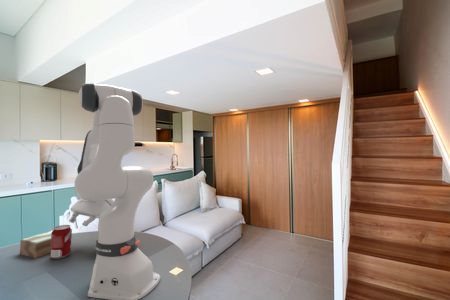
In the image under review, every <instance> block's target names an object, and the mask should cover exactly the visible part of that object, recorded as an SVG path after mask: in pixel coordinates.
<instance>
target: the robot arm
mask: <svg viewBox="0 0 450 300" xmlns="http://www.w3.org/2000/svg"><path fill="white" fill-rule="evenodd" d="M77 95H78V101H79V104H80V105H81V108H82V109H84V110H85V111H88V112H91V113H94V115H93V126H92V129H90V130H89V131H87V133H86V135H85V138H84V144H83V147H82V152H81V157H80V161H79V164H78V167H77V175H76V177H75V180H74V190H75V193H76V194H77V196H78V197H79V198H80V199H79V200H77V201H76V202H75V203H74V204H73V205H72V206H71V208H70V211H71V212H72V215H71V217H70V218H69V219H68V222H69V223H72V224H74V223H75V222H76V221H77V217H79V216H85V217H89V218H87V219H86V220H84V221H83V222H82V224H81V225H82V226H83V227H88V225H90V223H93V222H94V221H95V220H96V219H98V222H97V223H98V225H97V240H96V242H95V254H96V256H95V261H94V263H93V268H92V274H91V280H90V283H89V289H88V291H87V297H89V298H97V299H103V300H104V299H105V300H140V299H142V298H144V297H145V296H146V295H148V294H149V293H150V292H152V290H154V289H155V288H156V286H158V284H159V283H160V280H161V275H160V274H159V273H157V272H154V267H153V262H152V260H150V259H149V257H148V256H147V255H146V254H144V253H143V252H142V251H141V250H140V249H139V248H138V244H141V242H140V241H141V239H138V240H137V239H136V235H135V222H136V216H137V215H136V213H137V211H138V207H139V206H140V204H141V202H142V200H143V197H144V196H145V195H146V194H147V193H148V192H149V191H150V190H151V189H152V188H153V185H154V179H155V178H154V174H153V172H152V170H151V169H150V168H148V167H146V166H140V165H121V164H122V160H123V158H124V157H125V156H127V155H128V154H130V153H131V152H132V151H133V150H134V149H135V145H136V142H135V121H134V120H135V118H134V116H138V115H139V114H141V112H142V109H143V105H144V104H143V102H144V101H143V97H142V95H141V93H140V92H139V91H137V90H134V89H128V88H124V87H119V86H115V85H109V84H99V83H98V84H96V83H94V82H90V83H89V82H87V83H84V84H82V85H81V88H79V91H78V94H77ZM113 199H114V200H113Z"/></svg>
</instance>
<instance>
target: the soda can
mask: <svg viewBox="0 0 450 300" xmlns="http://www.w3.org/2000/svg"><path fill="white" fill-rule="evenodd" d="M50 233H51V252H50V253H49V257H50V258H51V259H53V260H54V259H55V260H59V259H63V258H66V257H67V256H69V255H70V254H72V253H71V252H72V235H73V234H72V233H73V229H72V228H71V225H69V224H61V225H56V226H54V227H53V229H52V231H51V232H50Z"/></svg>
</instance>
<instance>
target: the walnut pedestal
mask: <svg viewBox="0 0 450 300" xmlns="http://www.w3.org/2000/svg"><path fill="white" fill-rule="evenodd" d="M51 233H52V232H48V231H46V232H44V233H39V234H35V235H32V236H29V237H26V238H22V239H21V240H20V243H19V244H20V246H19V254H20V255H21V256H26V257H30V258H32V259H33V258H34V259H38V258H40V257H43V256H46V255H47V254H50V252H51Z"/></svg>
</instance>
